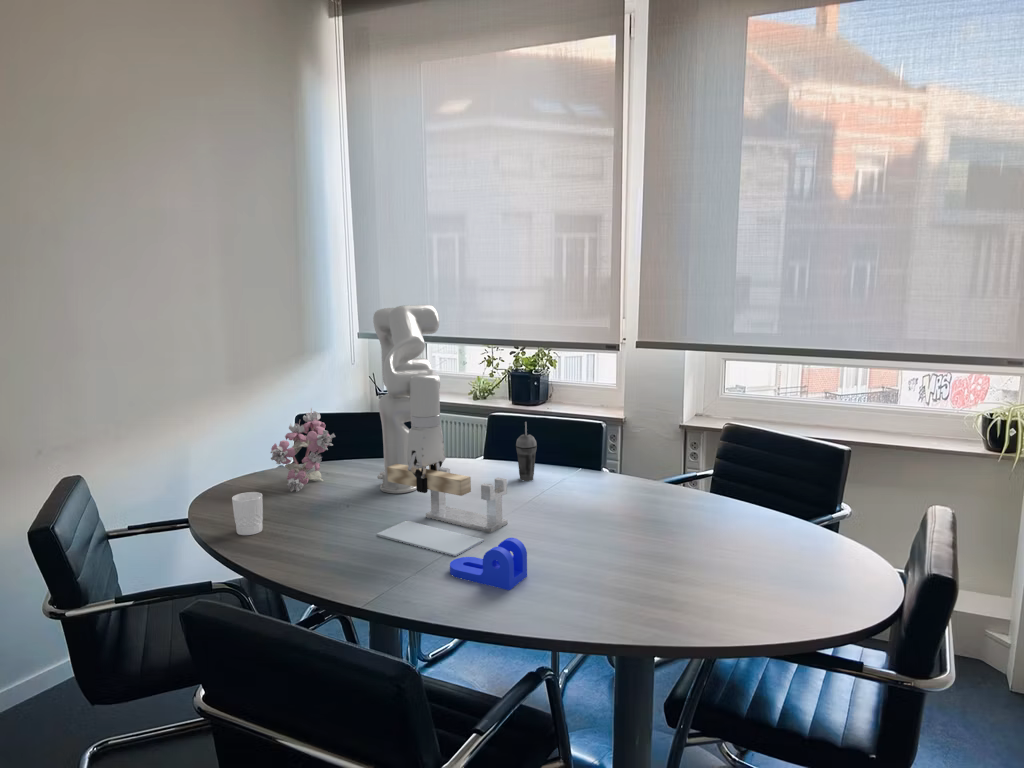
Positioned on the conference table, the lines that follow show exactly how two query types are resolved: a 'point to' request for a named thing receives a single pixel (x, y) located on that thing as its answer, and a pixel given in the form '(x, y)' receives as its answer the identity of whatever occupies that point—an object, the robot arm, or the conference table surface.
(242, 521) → the white cup
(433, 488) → the rail
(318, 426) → the flower
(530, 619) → the conference table surface
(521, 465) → the beverage cup
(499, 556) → the bracket
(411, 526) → the mat
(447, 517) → the rail stand
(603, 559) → the conference table surface
